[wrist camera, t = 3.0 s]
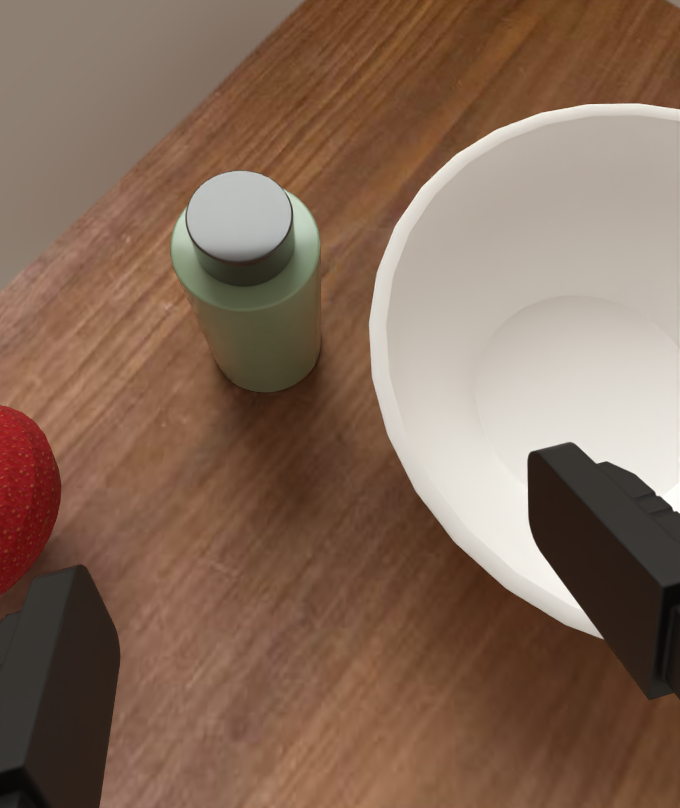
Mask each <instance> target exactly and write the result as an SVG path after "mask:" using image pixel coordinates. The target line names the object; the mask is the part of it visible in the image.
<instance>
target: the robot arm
mask: <svg viewBox="0 0 680 808" xmlns="http://www.w3.org/2000/svg"><path fill="white" fill-rule="evenodd" d="M527 479H528V520H529V526H530V530H531V533H532V536H533V539H534V541H535V543H536V545H537V547H538V549H539V551H540V552H541V554H542V555H543V556H544V558H545V559H546V560H547V562H548V563H549V564H550V566H551V567H552V569H553V570H554V571H555V573H556V574H557V575H558V577H559V578H560V580H561V581H562V582H563V584H564V585H565V586H566V588H567V589H568V590H569V592H570V593H571V595H572V596H573V597H574V599H575V600H576V601H577V603H578V604H579V605H580V607H581V608H582V610H583V611H584V612H585V614H586V615H587V616H588V618H589V619H590V621H591V622H592V623H593V625H594V626H595V627H596V629H597V630H598V631H599V633H600V634H601V636H602V637H603V638H604V640H605V641H606V642H607V644H608V645H609V646H610V648H611V649H612V651H613V652H614V653H615V655H616V656H617V657H618V659H619V660H620V662H621V663H622V664H623V666H624V667H625V668H626V670H627V671H628V672H629V674H630V675H631V677H632V678H633V679H634V681H635V682H636V683H637V685H638V686H639V687H640V689H641V690H642V692H643V693H644V694H645V696H646V697H647V698H648V700H651V699H655V698H658V697H661V696H665V695H668V694H671V693H675V694H676V695H677V697H678V698H679V699H680V513H679V512H677V511H675V512H674V511H673V509H672V506H671V505H670V504H668V503H667V502H666V501H665V500H664V499H663V498H662V497H660V496H656V493H655V491H654V490H653V489H651V488H650V487H649V486H648V485H647V484H646V483H645V482H644V481H642V480H641V479H640V478H639V477H638V476H637V475H636V474H634V473H632V472H630V471H628V470H625V469H623V468H621V467H619V466H617V465H614V464H612V463H610V462H608V461H605V462H601V463H598V464H596V463H595V462H594V461H593V460H592V459H591V458H590V457H589V456H588V455H587V454H586V453H585V452H584V451H582V450H581V449H580V448H579V447H578V446H577V445H576V444H575V443H573V442H566V443H562V444H559V445H555V446H551V447H547V448H543V449H539V450H535V451H531V452H530V453H529V455H528V459H527ZM119 666H120V646H119V639H118V635H117V631H116V628H115V626H114V623H113V621H112V619H111V617H110V615H109V613H108V611H107V609H106V607H105V604H104V602H103V600H102V598H101V596H100V594H99V592H98V590H97V588H96V585H95V583H94V581H93V579H92V577H91V575H90V573H89V571H88V570H87V568H86V567H85V566H83V565H77V566H73V567H69V568H65V569H61V570H57V571H53V572H49V573H45V574H41V575H37V576H35V577H34V578H33V580H32V581H31V584H30V586H29V589H28V592H27V595H26V598H25V601H24V604H23V607H22V609H21V611H20V612H16V613H12V614H8V615H6V616H5V618H4V619H3V620H2V621H1V623H0V808H99V806H100V799H101V792H102V785H103V778H104V771H105V764H106V757H107V750H108V743H109V736H110V729H111V722H112V715H113V708H114V701H115V694H116V687H117V680H118V673H119Z"/></svg>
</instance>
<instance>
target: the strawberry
mask: <svg viewBox="0 0 680 808" xmlns="http://www.w3.org/2000/svg"><path fill="white" fill-rule="evenodd" d="M60 499H61V480H60V474H59V468H58V466H57V463H56V461H55V458H54V455H53V453H52V450H51V448H50V445H49V443H48V441H47V438H46V436H45V434H44V433H43V432H42V430H41V429H40V428H39V426H38V425H37V424H36V423H35V421H33V420H32V419H30V418H29V417H28V416H26V415H25V414H24V413H22V412H20V411H17V410H15V409H12V408H9V407H6V406H1V405H0V596H1V595H2V594H3V593H5V592H6V591H7V590H8V589H10V588H11V587H12V586H13V585H14V584H15V583H16V582H17V581H18V580H19V579H20V578H21V577H22V576H23V575H24V574H25V573H26V572H27V571H28V570H29V568H30V567H31V566H32V564H33V563H34V562H35V560H36V559H37V558H38V556H39V555H40V553H41V552H42V550H43V548H44V546H45V544H46V543H47V541H48V539H49V537H50V535H51V532H52V529H53V527H54V524H55V522H56V519H57V515H58V510H59V505H60Z"/></svg>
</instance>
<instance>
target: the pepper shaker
mask: <svg viewBox="0 0 680 808" xmlns="http://www.w3.org/2000/svg"><path fill="white" fill-rule="evenodd" d="M170 254H171V261H172V264H173V268H174V270H175V272H176V275H177V277H178V279H179V281H180V283H181V286H182V288H183V290H184V292H185V294H186V297H187V299H188V301H189V303H190V306H191V308H192V310H193V312H194V314H195V317H196V319H197V321H198V323H199V325H200V328H201V330H202V332H203V334H204V336H205V339H206V341H207V343H208V345H209V348H210V350H211V352H212V354H213V356H214V359H215V361H216V363H217V365H218V367H219V368H220V370H221V371H222V373H223V374H224V375H225V376H226V377H227V378H228V379H229V380H230V381H232V382H233V383H235V384H236V385H238V386H240V387H242V388H245V389H248V390H251V391H256V392H275V391H280V390H283V389H286V388H289V387H291V386H293V385H295V384H296V383H298V382H299V381H301V380H302V379H303V378H304V377H305V376H306V375H307V374H308V373H309V372H310V371H311V369H312V368H313V367H314V365H315V363H316V361H317V359H318V356H319V353H320V349H321V246H320V235H319V230H318V227H317V224H316V221H315V219H314V217H313V216H312V214H311V212H310V211H309V210H308V208H307V207H306V206H305V205H304V204H303V203H302V202H301V201H300V200H299V199H298V198H297V197H296V196H294V195H293V194H292V193H290V192H288V191H287V190H285V189H283V188H282V187H281V186H280V185H279V184H278V183H276V182H275V181H274V180H272V179H271V178H269V177H267V176H265V175H263V174H260V173H257V172H252V171H243V170H240V171H229V172H225V173H222V174H219V175H216V176H214V177H212V178H210V179H209V180H207V181H206V182H204V183H203V184H202V185H201V186H200V187H199V188H198V189H197V190H196V191H195V192H194V194H193V195H192V197H191V199H190V201H189V203H188V206H187V207H186V208H185V209H184V210H183V212H182V213H181V215H180V216H179V218H178V220H177V222H176V224H175V226H174V229H173V232H172V237H171V242H170Z"/></svg>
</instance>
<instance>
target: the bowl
mask: <svg viewBox="0 0 680 808" xmlns="http://www.w3.org/2000/svg"><path fill="white" fill-rule="evenodd" d="M369 332H370V349H371V366H372V379H373V383H374V387H375V390H376V394H377V398H378V401H379V405H380V409H381V412H382V416H383V420H384V424H385V427H386V431H387V435H388V437H389V439H390V441H391V443H392V445H393V447H394V449H395V451H396V453H397V455H398V457H399V459H400V461H401V463H402V465H403V467H404V469H405V471H406V473H407V475H408V477H409V479H410V481H411V483H412V485H413V487H414V489H415V491H416V492H417V494H418V495H419V496H420V498H421V499H422V500H423V502H424V503H425V504H426V506H427V507H428V508H429V509H430V511H431V512H432V513H433V515H434V516H435V517H436V519H437V520H438V521H439V523H440V524H441V525H442V527H443V528H444V529H445V530H446V532H447V533H448V534H449V536H450V537H451V538H452V540H453V541H454V542H455V543H456V544H457V545H458V546H459V547H460V548H462V549H463V550H464V551H465V552H466V553H467V554H468V555H469V556H470V557H472V558H473V559H474V560H475V561H476V562H477V563H478V564H479V565H480V566H482V567H483V568H484V569H485V570H486V571H487V572H488V573H489V574H490V575H491V576H493V577H494V578H495V579H496V580H497V581H498V582H499V583H500V584H501V585H503V586H504V587H505V588H506V589H508V590H509V591H511V592H512V593H514V594H516V595H517V596H519V597H521V598H522V599H524V600H525V601H527V602H529V603H530V604H532V605H534V606H535V607H537V608H539V609H540V610H542V611H543V612H545V613H547V614H548V615H550V616H552V617H553V618H555V619H556V620H558V621H560V622H561V623H563V624H565V625H567V626H570V627H572V628H575V629H577V630H580V631H583V632H585V633H588V634H591V635H593V636H596V637H599V638H601V639H604V638H603V637H602V636H601V634H600V633H599V631H598V630H597V629H596V627H595V626H594V625H593V623H592V622H591V621H590V619H589V618H588V616H587V615H586V614H585V612H584V611H583V610H582V608H581V607H580V605H579V604H578V603H577V601H576V600H575V599H574V597H573V596H572V595H571V593H570V592H569V590H568V589H567V588H566V586H565V585H564V584H563V582H562V581H561V580H560V578H559V577H558V575H557V574H556V573H555V571H554V570H553V569H552V567H551V566H550V564H549V563H548V562H547V560H546V559H545V558H544V556H543V555H542V554H541V552H540V551H539V549H538V547H537V545H536V543H535V541H534V539H533V536H532V533H531V530H530V526H529V520H528V479H527V459H528V455H529V453H530V452H531V451H535V450H539V449H543V448H547V447H551V446H555V445H559V444H562V443H566V442H573V443H575V444H576V445H577V446H578V447H579V448H580V449H581V450H582V451H584V452H585V453H586V454H587V455H588V456H589V457H590V458H591V459H592V460H593V461H594V462H595V463H596V464H598V463H601V462H605V461H608V462H610V463H612V464H614V465H617V466H619V467H621V468H623V469H625V470H628V471H630V472H632V473H634V474H636V475H637V476H638V477H639V478H640V479H641V480H642V481H644V482H645V483H646V484H647V485H648V486H649V487H650V488H651V489H653V490H654V491H655V493H656V496H660V497H662V498H663V499H664V500H665V501H666V502H667V503H668V504H670V505H671V506H672V509H673V511H674V512H675V511H677V512H679V513H680V110H678V109H672V108H665V107H658V106H651V105H644V104H588V105H582V106H577V107H571V108H566V109H560V110H555V111H549V112H544V113H540V114H537V115H534V116H532V117H529V118H526V119H524V120H521V121H518V122H516V123H513V124H510V125H508V126H505V127H502V128H500V129H497V130H495V131H493V132H492V133H490V134H489V135H487V136H485V137H484V138H482V139H480V140H479V141H477V142H476V143H474V144H472V145H471V146H469V147H468V148H466V149H464V150H463V151H461V152H459V153H458V154H456V155H455V156H454V157H453V158H452V159H451V160H450V161H449V162H448V163H447V164H446V165H445V166H443V167H442V168H441V169H440V170H439V171H438V172H437V173H436V174H435V175H434V176H433V177H432V178H431V179H430V180H429V181H428V182H427V183H426V184H424V185H423V186H422V188H421V189H420V191H419V192H418V193H417V195H416V196H415V198H414V199H413V201H412V202H411V204H410V205H409V207H408V208H407V210H406V211H405V213H404V214H403V216H402V217H401V218H400V220H399V221H398V223H397V224H396V226H395V228H394V230H393V233H392V236H391V238H390V241H389V243H388V246H387V248H386V251H385V253H384V256H383V258H382V261H381V263H380V266H379V268H378V271H377V275H376V282H375V288H374V295H373V301H372V307H371V314H370V320H369Z"/></svg>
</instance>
